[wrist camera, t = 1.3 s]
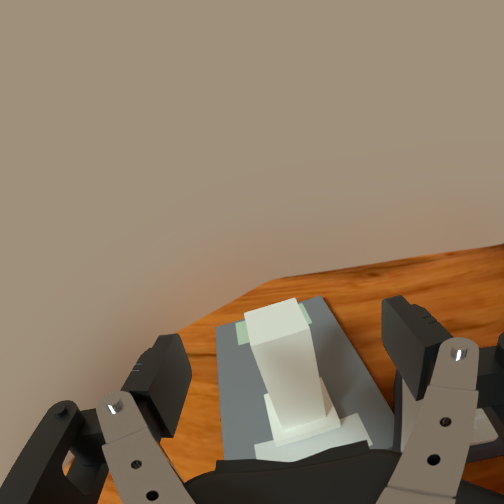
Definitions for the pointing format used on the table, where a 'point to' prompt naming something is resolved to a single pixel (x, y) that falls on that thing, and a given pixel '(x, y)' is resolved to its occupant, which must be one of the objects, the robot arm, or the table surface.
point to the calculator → (406, 412)
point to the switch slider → (289, 373)
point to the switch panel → (330, 370)
